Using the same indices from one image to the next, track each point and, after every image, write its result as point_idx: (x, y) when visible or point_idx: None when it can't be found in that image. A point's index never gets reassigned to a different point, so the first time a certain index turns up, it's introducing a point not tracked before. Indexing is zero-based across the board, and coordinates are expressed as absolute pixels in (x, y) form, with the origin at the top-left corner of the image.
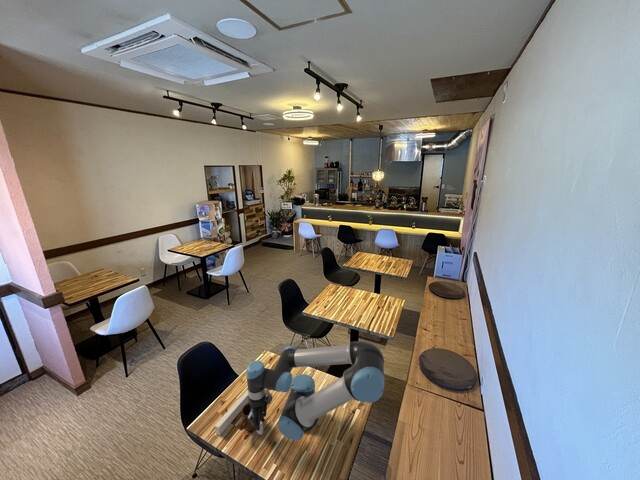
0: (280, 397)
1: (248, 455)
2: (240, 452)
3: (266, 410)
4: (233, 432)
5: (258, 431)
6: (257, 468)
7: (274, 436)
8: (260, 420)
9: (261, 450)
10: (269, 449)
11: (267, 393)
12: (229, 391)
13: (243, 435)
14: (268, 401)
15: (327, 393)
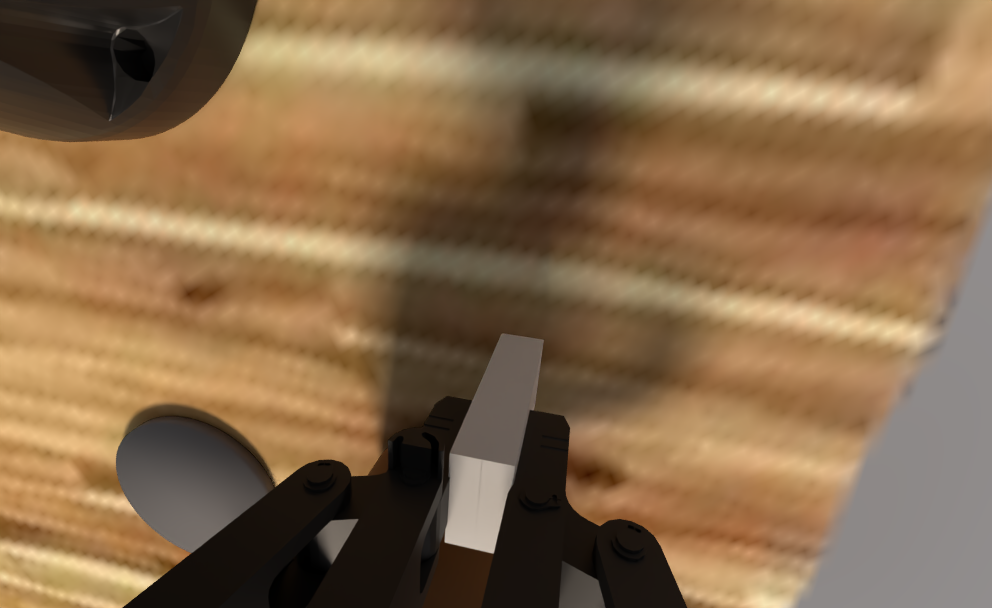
0: (85, 335)
1: (791, 365)
2: (775, 459)
3: (200, 549)
4: None
5: (534, 399)
6: (949, 172)
7: (474, 172)
8: (444, 504)
9: (694, 245)
10: (652, 146)
11: (135, 474)
12: None
13: (593, 503)
14: (187, 432)
15: None
